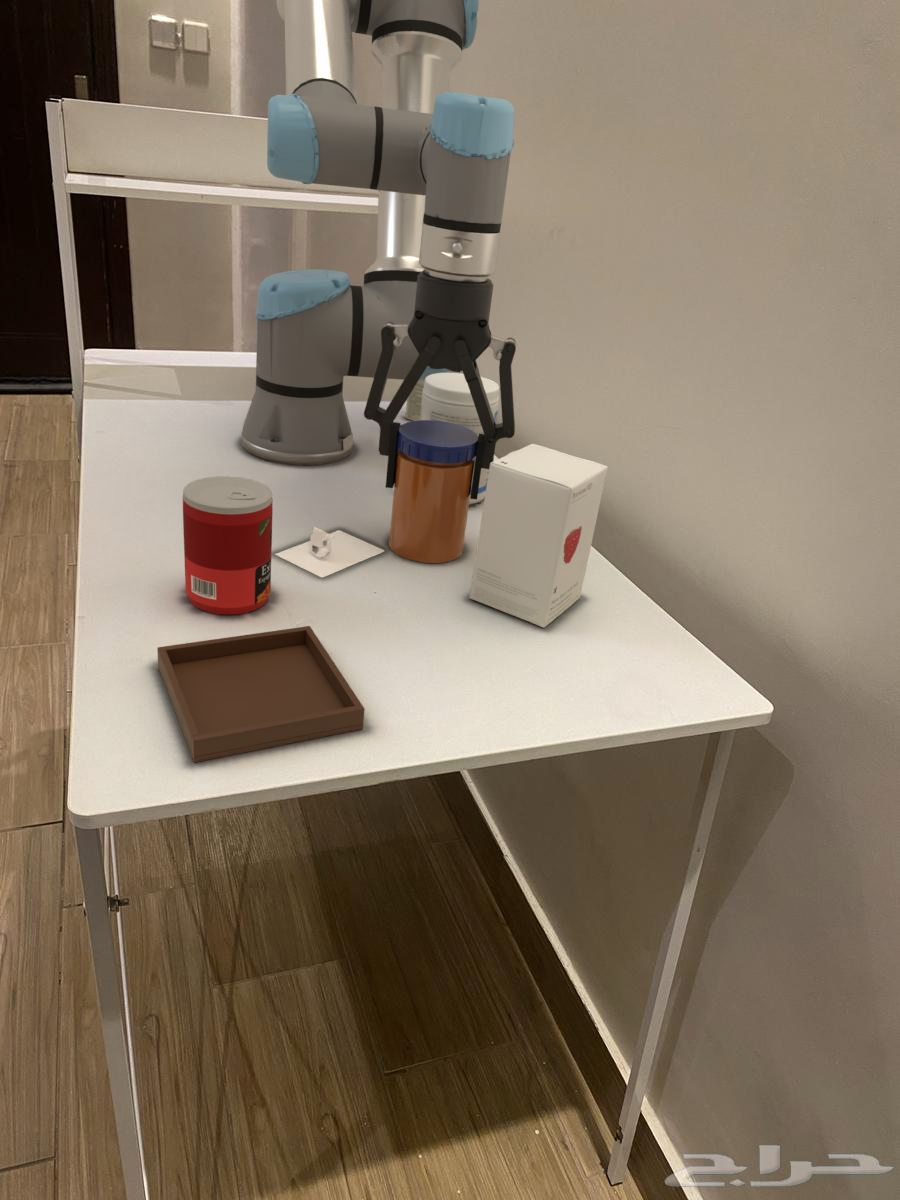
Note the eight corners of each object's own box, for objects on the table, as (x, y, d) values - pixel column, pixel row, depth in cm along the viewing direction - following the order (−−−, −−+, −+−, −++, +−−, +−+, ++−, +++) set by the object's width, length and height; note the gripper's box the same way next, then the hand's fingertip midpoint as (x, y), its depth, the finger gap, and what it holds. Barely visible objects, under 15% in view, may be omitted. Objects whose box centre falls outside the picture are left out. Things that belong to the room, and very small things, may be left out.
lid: (492, 452, 99) (494, 436, 98) (445, 470, 92) (448, 453, 91) (428, 430, 103) (430, 415, 102) (379, 446, 96) (381, 429, 95)
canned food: (275, 614, 86) (277, 507, 81) (187, 618, 83) (184, 508, 78) (265, 577, 92) (267, 475, 87) (183, 579, 90) (180, 475, 85)
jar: (377, 534, 104) (386, 430, 98) (442, 528, 108) (454, 427, 102) (407, 567, 98) (418, 457, 92) (475, 559, 102) (490, 452, 96)
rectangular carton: (544, 630, 89) (572, 488, 82) (467, 599, 93) (486, 461, 86) (583, 598, 96) (611, 464, 89) (509, 571, 100) (530, 440, 93)
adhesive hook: (304, 553, 98) (305, 526, 97) (321, 546, 100) (322, 520, 98) (324, 563, 96) (325, 536, 95) (341, 556, 98) (343, 529, 97)
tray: (157, 667, 76) (157, 647, 75) (308, 644, 82) (309, 625, 81) (193, 762, 66) (193, 740, 65) (363, 729, 72) (364, 708, 71)
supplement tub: (500, 503, 117) (517, 391, 110) (439, 512, 112) (452, 395, 105) (459, 476, 124) (472, 369, 117) (399, 484, 119) (409, 372, 112)
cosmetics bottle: (446, 422, 145) (453, 359, 140) (427, 427, 142) (434, 362, 137) (422, 413, 148) (428, 351, 143) (403, 417, 145) (409, 354, 140)
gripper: (341, 265, 86) (329, 488, 96) (565, 294, 86) (528, 515, 96) (354, 254, 92) (342, 464, 103) (562, 282, 92) (528, 489, 103)
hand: (432, 488), depth 100 cm, fingers closed on lid, 9 cm apart
